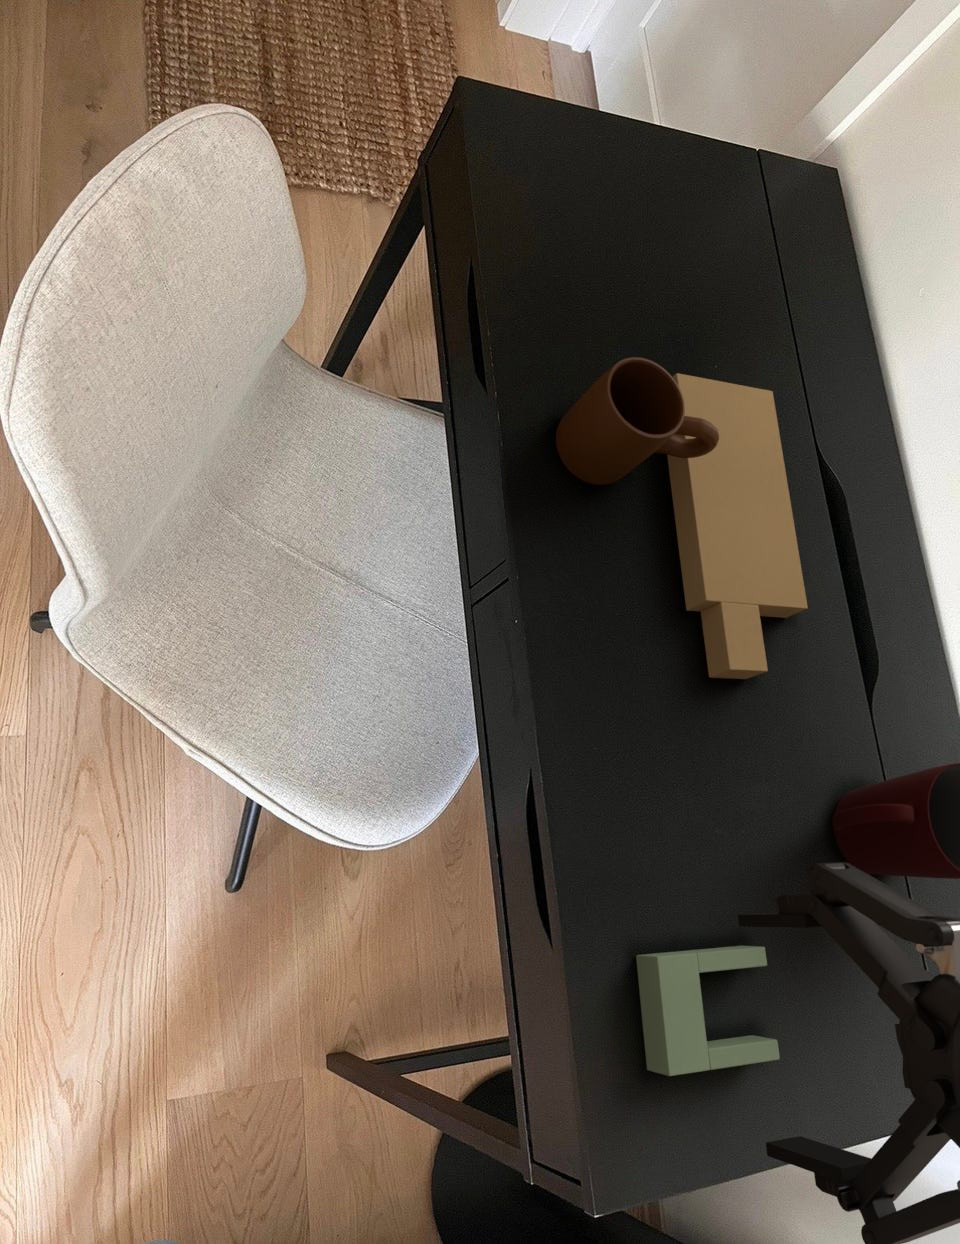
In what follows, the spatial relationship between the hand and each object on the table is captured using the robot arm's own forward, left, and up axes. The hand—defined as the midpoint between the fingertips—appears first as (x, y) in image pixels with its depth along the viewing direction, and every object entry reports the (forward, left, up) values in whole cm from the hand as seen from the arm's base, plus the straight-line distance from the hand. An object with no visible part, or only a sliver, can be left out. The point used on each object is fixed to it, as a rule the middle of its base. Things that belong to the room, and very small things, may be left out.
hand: (768, 1029), depth 60 cm
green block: (+2, 0, -11) cm, 11 cm away
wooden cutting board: (+11, +40, -11) cm, 43 cm away
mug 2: (+20, +13, -11) cm, 27 cm away
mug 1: (0, +46, -11) cm, 48 cm away
